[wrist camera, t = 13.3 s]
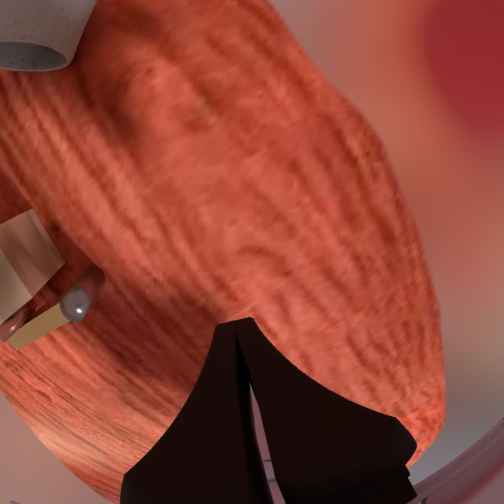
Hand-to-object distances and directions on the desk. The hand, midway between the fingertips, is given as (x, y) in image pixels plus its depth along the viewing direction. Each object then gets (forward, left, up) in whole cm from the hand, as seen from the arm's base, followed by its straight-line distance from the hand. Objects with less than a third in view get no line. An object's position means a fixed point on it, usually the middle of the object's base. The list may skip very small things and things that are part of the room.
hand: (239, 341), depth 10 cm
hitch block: (+8, +17, -10) cm, 21 cm away
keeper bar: (+3, +14, -10) cm, 17 cm away
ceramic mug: (+22, +4, -10) cm, 25 cm away
